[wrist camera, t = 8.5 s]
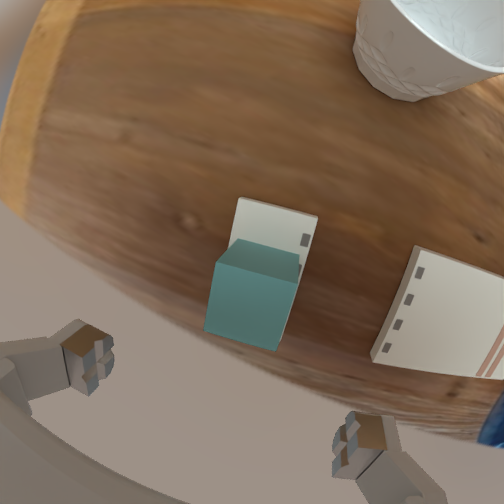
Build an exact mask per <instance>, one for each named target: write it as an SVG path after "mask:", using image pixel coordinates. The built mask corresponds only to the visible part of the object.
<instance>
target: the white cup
mask: <svg viewBox="0 0 504 504" xmlns="http://www.w3.org/2000/svg"><path fill="white" fill-rule="evenodd" d="M352 50H353V53H354V56H355V60H356V63H357V66H358V69H359V70H360V72H361V73H362V74H363V75H364V76H365V78H366V79H367V80H368V81H369V82H370V84H371V85H372V86H373V87H374V88H376V89H378V90H379V91H381V92H383V93H384V94H386V95H388V96H389V97H391V98H393V99H398V100H404V101H409V102H416V101H419V100H422V99H425V98H429V97H432V96H434V95H441V94H444V93H447V92H451V91H454V90H457V89H460V88H463V87H466V86H468V85H471V84H474V83H477V82H480V81H483V80H486V79H489V78H492V77H495V76H498V75H502V74H504V0H360V6H359V10H358V16H357V21H356V34H355V39H354V44H353V49H352Z"/></svg>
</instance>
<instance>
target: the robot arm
mask: <svg viewBox="0 0 504 504" xmlns="http://www.w3.org/2000/svg"><path fill="white" fill-rule="evenodd" d="M113 346H114V343H113V337H112V336H111V335H109V334H107V333H104V332H103V331H101V330H99V329H97V328H95V327H93V326H91V325H89V324H87V323H85V322H83V321H82V320H80V319H76V320H74V321H72V322H71V323H69V324H68V325H67V326H65V327H64V328H62V329H61V330H60V331H58V332H57V333H55V334H54V335H53V336H51V337H50V338H47V337H40V338H32V339H24V340H17V341H8V342H0V504H189V503H186V502H183V501H181V500H178V499H175V498H173V497H170V496H167V495H165V494H162V493H160V492H158V491H155V490H153V489H150V488H148V487H146V486H143V485H141V484H139V483H137V482H135V481H133V480H131V479H129V478H127V477H125V476H123V475H121V474H119V473H117V472H115V471H113V470H111V469H109V468H107V467H106V466H104V465H102V464H100V463H98V462H97V461H95V460H93V459H91V458H90V457H88V456H86V455H85V454H83V453H82V452H80V451H78V450H77V449H75V448H74V447H72V446H71V445H69V444H68V443H66V442H65V441H63V440H62V439H60V438H59V437H57V436H56V435H55V434H53V433H52V432H50V431H49V430H47V429H46V428H45V427H44V426H42V425H41V424H40V423H38V422H37V421H36V420H35V419H33V418H32V417H31V415H32V410H31V408H30V405H29V403H28V401H29V400H32V399H35V398H39V397H42V396H44V395H48V394H51V393H54V392H57V391H60V390H63V389H66V388H69V387H70V386H71V387H72V388H74V389H76V390H78V391H80V392H81V393H83V394H85V395H87V396H90V395H91V394H92V392H93V391H94V390H95V389H96V388H97V387H98V386H99V380H101V379H105V378H106V377H107V376H108V375H109V374H110V373H111V370H112V368H113V365H114V354H113V353H112V351H111V348H112V347H113ZM345 419H346V424H344V425H342V426H340V427H339V429H338V430H337V432H336V434H335V437H334V440H333V445H332V449H333V450H332V451H333V453H334V454H335V456H336V458H335V459H334V461H333V462H332V477H333V478H341V479H350V480H356V483H357V485H358V486H359V488H360V490H361V492H362V493H363V495H364V496H365V498H366V500H367V501H368V503H369V504H448V503H447V498H446V494H445V491H444V490H443V489H442V488H440V486H439V485H437V483H436V482H435V481H434V480H433V479H432V478H431V477H430V476H429V475H428V474H427V473H426V472H425V471H424V470H423V469H422V468H421V467H420V466H419V465H418V464H417V463H416V462H415V461H414V460H413V459H412V458H411V457H410V456H409V455H408V454H407V453H406V452H402V449H401V444H400V440H399V435H398V431H397V427H396V423H395V419H394V417H393V416H389V415H380V414H379V415H378V414H371V413H363V412H356V411H351V412H350V413H349V414H348V415H347V417H346V418H345Z"/></svg>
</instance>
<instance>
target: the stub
mask: <svg viewBox="0 0 504 504" xmlns="http://www.w3.org/2000/svg"><path fill="white" fill-rule="evenodd" d="M317 220H318V217H317V216H315V215H312V214H308V213H304V212H301V211H297V210H293V209H289V208H285V207H282V206H278V205H274V204H270V203H266V202H262V201H258V200H254V199H250V198H246V197H240V198H239V199H238V204H237V208H236V213H235V217H234V222H233V227H232V231H231V236H230V241H229V245H228V249H227V250H226V252H225V253H224V254H223V255H222V256H221V257H220V258H219V259H218V260H217V261H216V264H215V269H214V275H213V280H212V285H211V290H210V296H209V301H208V307H207V312H206V318H205V323H204V329H203V331H206V332H209V333H212V334H215V335H219V336H222V337H225V338H229V339H232V340H235V341H239V342H242V343H246V344H249V345H253V346H256V347H260V348H264V349H267V350H271V351H275V352H276V350H277V347H278V344H279V341H281V338H282V335H283V332H284V329H285V326H286V323H287V320H288V317H289V314H290V311H291V308H292V305H293V301H294V298H295V295H296V292H297V289H298V285H299V282H300V279H301V276H302V272H303V269H304V266H305V262H306V259H307V255H308V252H309V249H310V245H311V242H312V238H313V235H314V231H315V228H316V224H317Z"/></svg>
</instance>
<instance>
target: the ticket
mask: <svg viewBox="0 0 504 504" xmlns="http://www.w3.org/2000/svg"><path fill="white" fill-rule="evenodd" d="M370 355H371V358H372V362H374V363H379V364H385V365H390V366H396V367H402V368H408V369H414V370H421V371H428V372H435V373H442V374H450V375H458V376H467V377H477V378H487V379H500V380H503V379H504V277H503V276H500V275H498V274H495V273H493V272H490V271H487V270H485V269H482V268H479V267H477V266H474V265H471V264H468V263H466V262H463V261H460V260H457V259H455V258H452V257H449V256H446V255H443V254H440V253H437V252H434V251H432V250H429V249H426V248H423V247H420V246H417V245H414V248H413V250H412V253H411V256H410V259H409V262H408V265H407V267H406V270H405V273H404V276H403V278H402V281H401V283H400V286H399V288H398V291H397V293H396V296H395V298H394V301H393V303H392V306H391V308H390V310H389V313H388V315H387V317H386V319H385V322H384V324H383V326H382V328H381V330H380V333H379V335H378V337H377V339H376V341H375V343H374V345H373V347H372V349H371V351H370Z"/></svg>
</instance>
